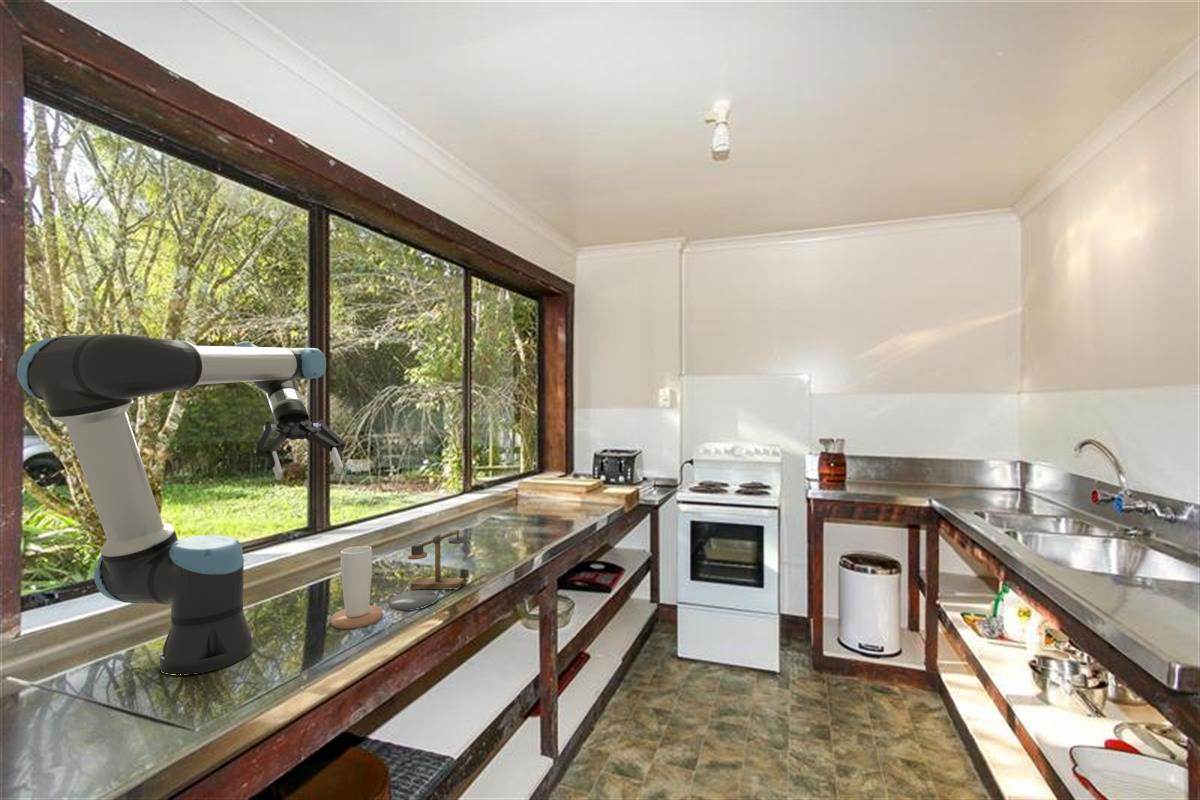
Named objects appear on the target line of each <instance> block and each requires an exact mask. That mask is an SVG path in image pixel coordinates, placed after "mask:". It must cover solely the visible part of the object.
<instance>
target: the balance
mask: <svg viewBox="0 0 1200 800" xmlns="http://www.w3.org/2000/svg"><path fill="white" fill-rule="evenodd" d="M459 533H460V529H455V530H452V531H451V532H447V533H444V534H441V533H439V534H436V535H435V536H433V537H432V538H431V539H428V540H426V541H424V542H420V543H415V544H413V545H411V552H410V553H408V554H407V558H408V560H421V559H422V560H423V559H425V558H427V557H428V552H426V551H424V547H425V546H428V545H430V544H434V571H435V572H434V575H435V576H434V577H418V578H417V579H415V580H414V581H412V583H411V584H410V591H415V590H416V589H444V588H458V587H460V586H461V584H462V583H463V582H464V583H465V578H463V577H460V578H459V577H457V578H456V577H455V578H454V577H453V578H452V577H450V578H449V577H441V575H442V574H441V570H442V569H441V568H442V567H441V542H442V540H444V539H446V538H448V539H447V541H448V544H451V545H459V544H465V543H467V542H468V537H466V536H460V535H459ZM454 535H456V536H454Z"/></svg>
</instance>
